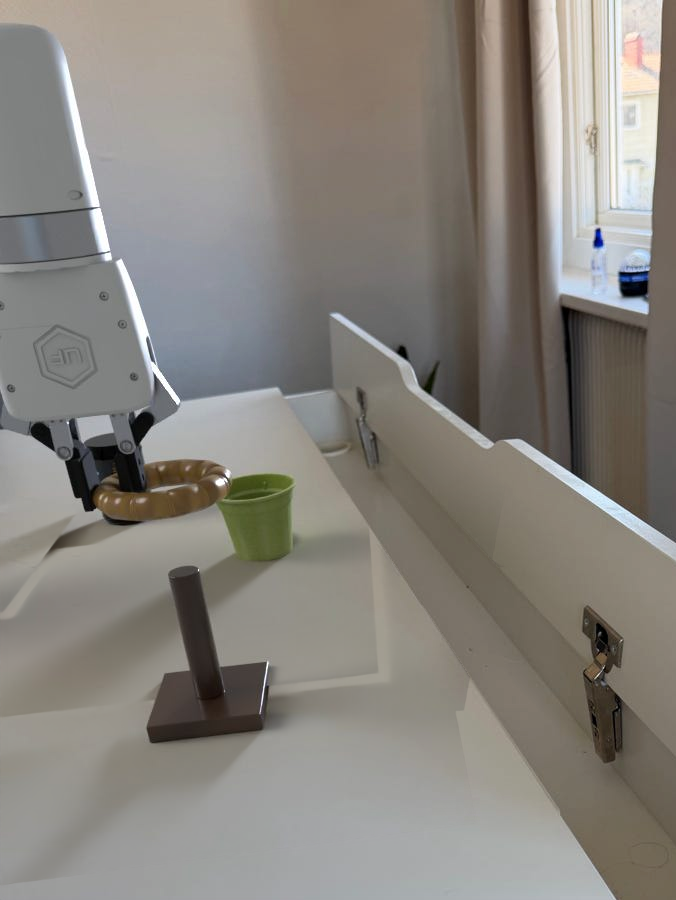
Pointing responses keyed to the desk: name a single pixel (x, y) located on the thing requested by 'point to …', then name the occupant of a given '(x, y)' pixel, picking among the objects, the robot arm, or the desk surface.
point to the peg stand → (205, 677)
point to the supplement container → (107, 462)
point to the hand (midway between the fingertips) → (114, 501)
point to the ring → (166, 491)
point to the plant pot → (259, 515)
